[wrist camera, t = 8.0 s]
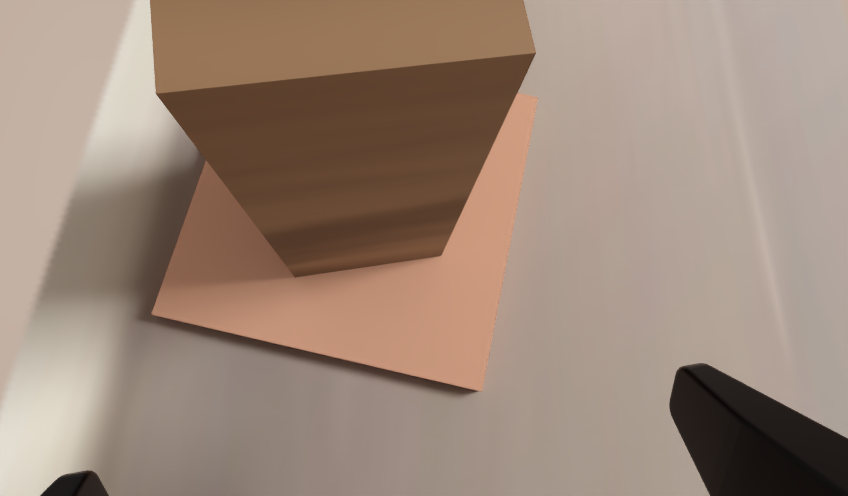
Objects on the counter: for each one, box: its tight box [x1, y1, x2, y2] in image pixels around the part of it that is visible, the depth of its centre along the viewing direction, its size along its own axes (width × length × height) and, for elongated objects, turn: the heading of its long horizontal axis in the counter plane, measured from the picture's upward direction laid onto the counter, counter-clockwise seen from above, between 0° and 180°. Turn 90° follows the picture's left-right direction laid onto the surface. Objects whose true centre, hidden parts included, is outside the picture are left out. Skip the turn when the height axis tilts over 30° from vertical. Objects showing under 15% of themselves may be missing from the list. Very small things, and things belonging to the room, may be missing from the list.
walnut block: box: [150, 0, 536, 278], centre depth 14 cm, size 5×5×12 cm
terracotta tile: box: [151, 93, 538, 391], centre depth 20 cm, size 11×11×1 cm
